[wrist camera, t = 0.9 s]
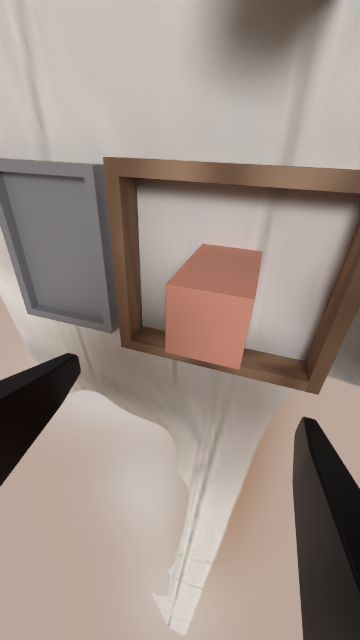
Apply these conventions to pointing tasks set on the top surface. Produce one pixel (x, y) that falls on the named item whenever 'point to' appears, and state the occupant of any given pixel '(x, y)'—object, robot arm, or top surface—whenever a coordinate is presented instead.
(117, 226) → the frame
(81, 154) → the top surface
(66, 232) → the charcoal tray
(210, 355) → the brick block
